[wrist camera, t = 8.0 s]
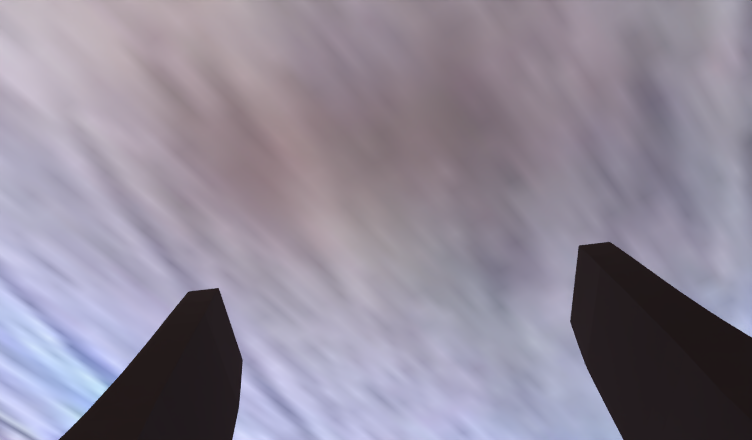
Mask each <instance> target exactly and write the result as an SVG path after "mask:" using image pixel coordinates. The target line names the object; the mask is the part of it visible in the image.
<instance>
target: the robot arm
mask: <svg viewBox="0 0 752 440" xmlns="http://www.w3.org/2000/svg"><path fill="white" fill-rule="evenodd" d="M570 322H571V325H572V328H573V331H574V334H575V337H576V340H577V343H578V346H579V348H580V351H581V354H582V356H583V359H584V362H585V365H586V367H587V369H588V371H589V373H590V375H591V377H592V379H593V381H594V383H595V385H596V387H597V389H598V391H599V393H600V395H601V397H602V399H603V401H604V403H605V405H606V407H607V409H608V411H609V413H610V415H611V417H612V418H613V420H614V422H615V424H616V426H617V428H618V430H619V432H620V434H621V436H622V438H623V440H752V337H750V336H748V335H747V334H745V333H743V332H742V331H740V330H738V329H737V328H735V327H734V326H732V325H730V324H729V323H727V322H725V321H724V320H722V319H721V318H719V317H717V316H716V315H714V314H713V313H711V312H710V311H708V310H707V309H705V308H704V307H702V306H701V305H699V304H698V303H696V302H695V301H693V300H692V299H690V298H689V297H687V296H686V295H684V294H683V293H681V292H680V291H678V290H677V289H676V288H674V287H673V286H671V285H670V284H668V283H667V282H666V281H664V280H663V279H661V278H660V277H659V276H657V275H656V274H654V273H653V272H652V271H650V270H649V269H647V268H646V267H645V266H643V265H642V264H640V263H639V262H638V261H636V260H635V259H633V258H632V257H631V256H629V255H628V254H626V253H625V252H624V251H622V250H621V249H619V248H618V247H616V246H615V245H613V244H612V243H610V242H605V243H597V244H588V245H580V246H579V249H578V258H577V267H576V275H575V284H574V293H573V302H572V311H571V320H570ZM242 361H243V360H242V357H241V354H240V351H239V348H238V345H237V342H236V339H235V336H234V333H233V330H232V327H231V324H230V321H229V318H228V315H227V312H226V309H225V306H224V303H223V300H222V297H221V294H220V291H219V288H215V289H207V290H199V291H190V292H188V293H187V294H186V295H185V297H184V298H183V299H182V300H181V301H180V303H179V304H178V305H177V306H176V307H175V309H174V310H173V311H172V312H171V314H170V315H169V316H168V317H167V319H166V320H165V321H164V322H163V324H162V325H161V326H160V327H159V329H158V330H157V331H156V332H155V334H154V335H153V336H152V337H151V339H150V340H149V341H148V342H147V344H146V345H145V346H144V347H143V348H142V350H141V351H140V352H139V353H138V354H137V356H136V357H135V358H134V359H133V360H132V362H131V363H130V364H129V365H128V366H127V368H126V369H125V370H124V371H123V372H122V374H121V375H120V376H119V377H118V378H117V379H116V380H115V381H114V382H113V384H112V385H111V386H110V387H109V388H108V389H107V390H106V391H105V392H104V393H103V395H102V396H101V397H100V398H99V399H98V400H97V401H96V402H95V403H94V404H93V406H92V407H91V408H90V409H89V410H88V411H87V412H86V413H85V414H84V415H83V416H82V417H81V418H80V419H79V420H78V421H77V422H76V423H75V424H74V425H73V426H72V427H71V428H70V429H69V430H68V431H67V432H66V433H65V434H64V435H63V436H62V437H61V438H60V439H59V440H232V438H233V433H234V429H235V424H236V419H237V414H238V409H239V400H240V389H241V375H242Z"/></svg>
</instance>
